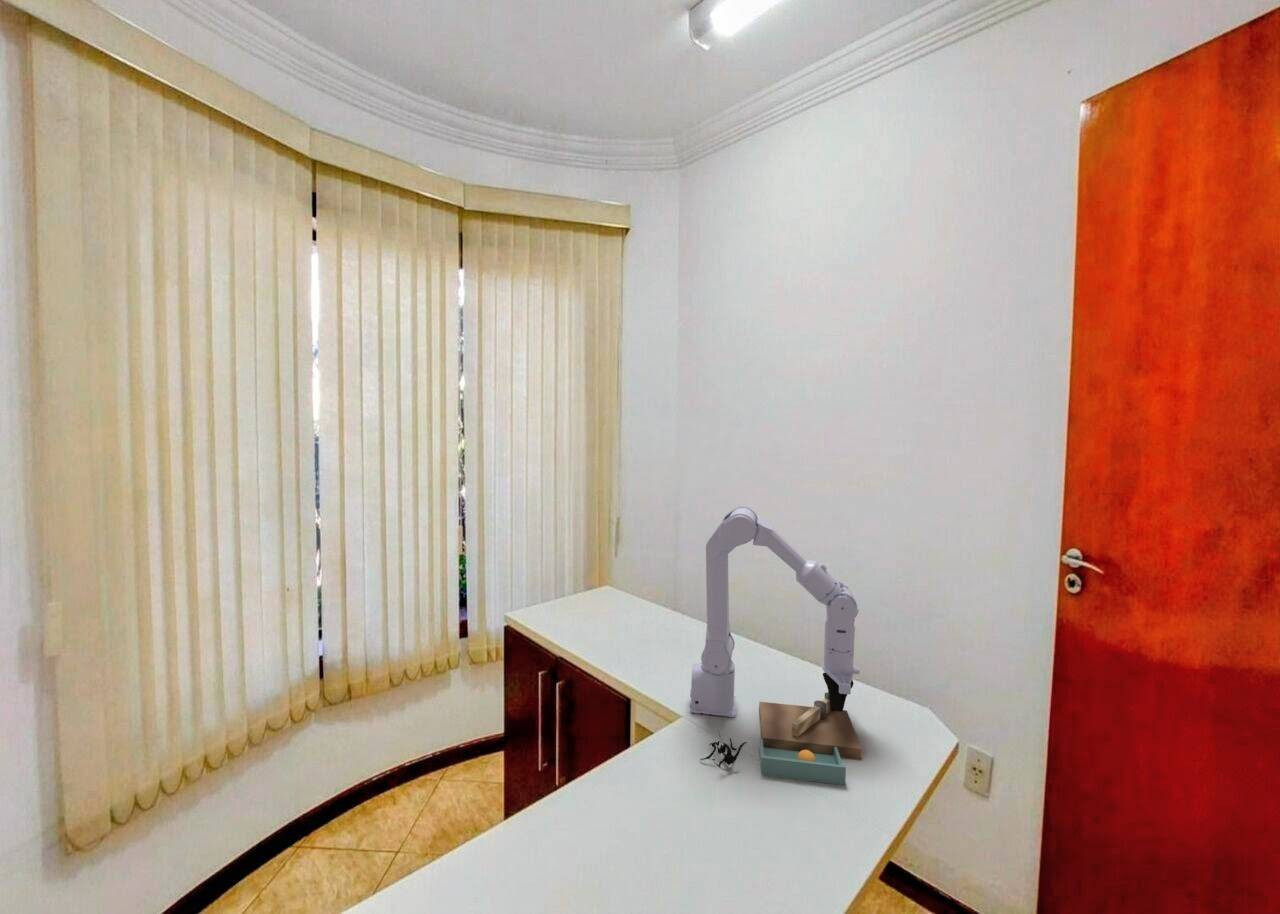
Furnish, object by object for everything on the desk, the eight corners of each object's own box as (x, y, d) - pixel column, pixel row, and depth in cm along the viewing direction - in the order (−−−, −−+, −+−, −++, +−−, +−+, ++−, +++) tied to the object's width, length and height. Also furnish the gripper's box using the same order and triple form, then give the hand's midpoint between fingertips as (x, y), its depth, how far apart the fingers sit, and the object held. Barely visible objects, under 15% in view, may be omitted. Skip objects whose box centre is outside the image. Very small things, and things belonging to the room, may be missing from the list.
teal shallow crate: (761, 774, 94) (761, 757, 93) (759, 748, 101) (759, 732, 101) (845, 785, 91) (845, 767, 91) (836, 757, 99) (837, 740, 98)
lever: (800, 738, 101) (800, 723, 100) (788, 733, 102) (789, 718, 102) (836, 709, 111) (837, 695, 111) (826, 704, 113) (826, 690, 112)
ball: (793, 761, 96) (795, 764, 93) (801, 744, 97) (803, 747, 94) (809, 771, 95) (812, 775, 92) (817, 755, 96) (820, 758, 93)
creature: (694, 760, 99) (716, 777, 92) (691, 730, 100) (713, 744, 93) (729, 749, 102) (753, 765, 95) (726, 720, 103) (750, 734, 96)
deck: (762, 747, 101) (762, 737, 101) (759, 710, 114) (759, 701, 114) (861, 759, 98) (861, 748, 98) (846, 719, 111) (846, 710, 111)
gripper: (868, 664, 100) (865, 732, 101) (851, 633, 114) (849, 693, 115) (829, 661, 101) (827, 728, 102) (818, 631, 116) (815, 690, 117)
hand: (836, 710), depth 109 cm, fingers closed, pressing on lever
